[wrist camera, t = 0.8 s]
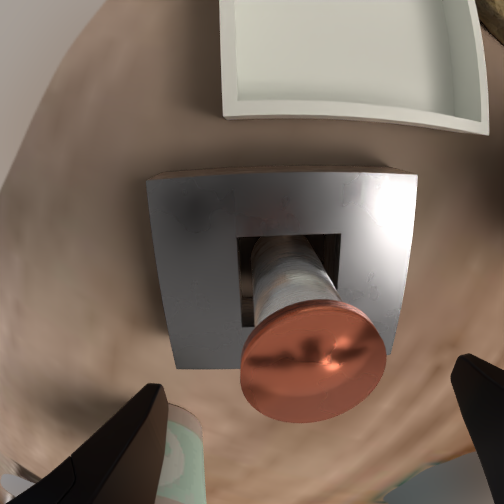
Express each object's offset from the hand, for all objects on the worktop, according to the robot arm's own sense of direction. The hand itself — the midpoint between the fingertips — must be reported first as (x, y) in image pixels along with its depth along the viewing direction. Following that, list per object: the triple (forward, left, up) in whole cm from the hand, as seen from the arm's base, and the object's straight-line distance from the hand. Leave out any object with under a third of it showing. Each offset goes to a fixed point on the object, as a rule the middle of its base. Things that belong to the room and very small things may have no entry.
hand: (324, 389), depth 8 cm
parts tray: (-4, -13, -10) cm, 17 cm away
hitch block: (0, 0, -10) cm, 10 cm away
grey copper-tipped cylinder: (0, 0, -10) cm, 10 cm away
